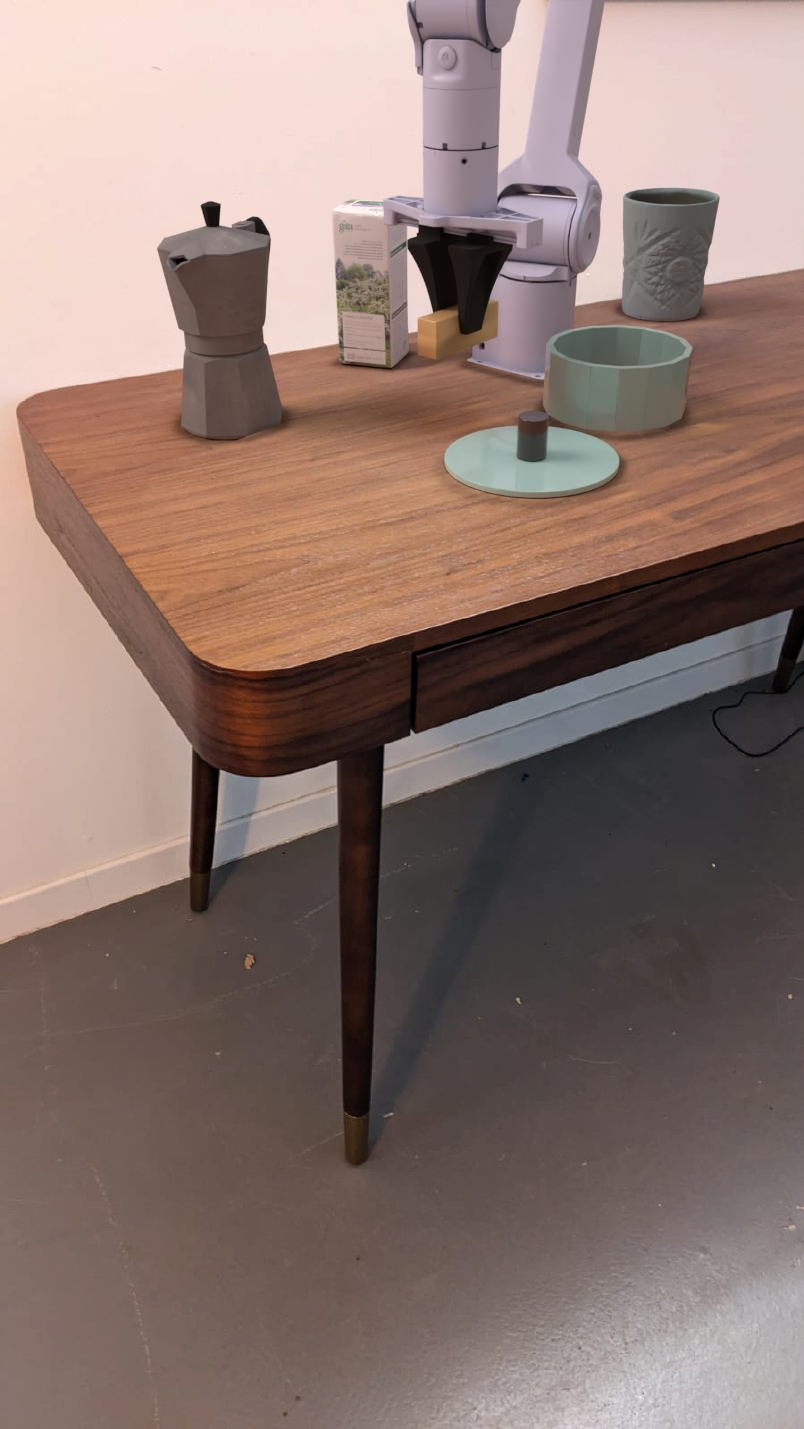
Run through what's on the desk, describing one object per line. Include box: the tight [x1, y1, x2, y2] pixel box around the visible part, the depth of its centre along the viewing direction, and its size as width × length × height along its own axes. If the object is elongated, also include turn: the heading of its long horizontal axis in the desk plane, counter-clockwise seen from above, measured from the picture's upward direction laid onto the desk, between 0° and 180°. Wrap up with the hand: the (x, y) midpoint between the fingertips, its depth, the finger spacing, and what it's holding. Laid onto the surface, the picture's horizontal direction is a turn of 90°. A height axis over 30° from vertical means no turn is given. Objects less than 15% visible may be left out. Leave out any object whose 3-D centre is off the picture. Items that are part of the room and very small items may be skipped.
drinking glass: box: [621, 187, 721, 322], centre depth 123 cm, size 10×10×12 cm
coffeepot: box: [156, 200, 283, 440], centre depth 95 cm, size 15×9×18 cm, turn 158°
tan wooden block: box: [417, 299, 499, 361], centre depth 92 cm, size 8×2×3 cm, turn 138°
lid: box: [443, 410, 620, 499], centre depth 88 cm, size 14×14×4 cm
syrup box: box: [331, 199, 410, 369], centre depth 109 cm, size 6×6×14 cm
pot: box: [542, 324, 694, 433], centre depth 98 cm, size 12×12×6 cm
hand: (458, 328), depth 92 cm, fingers closed on tan wooden block, 2 cm apart
